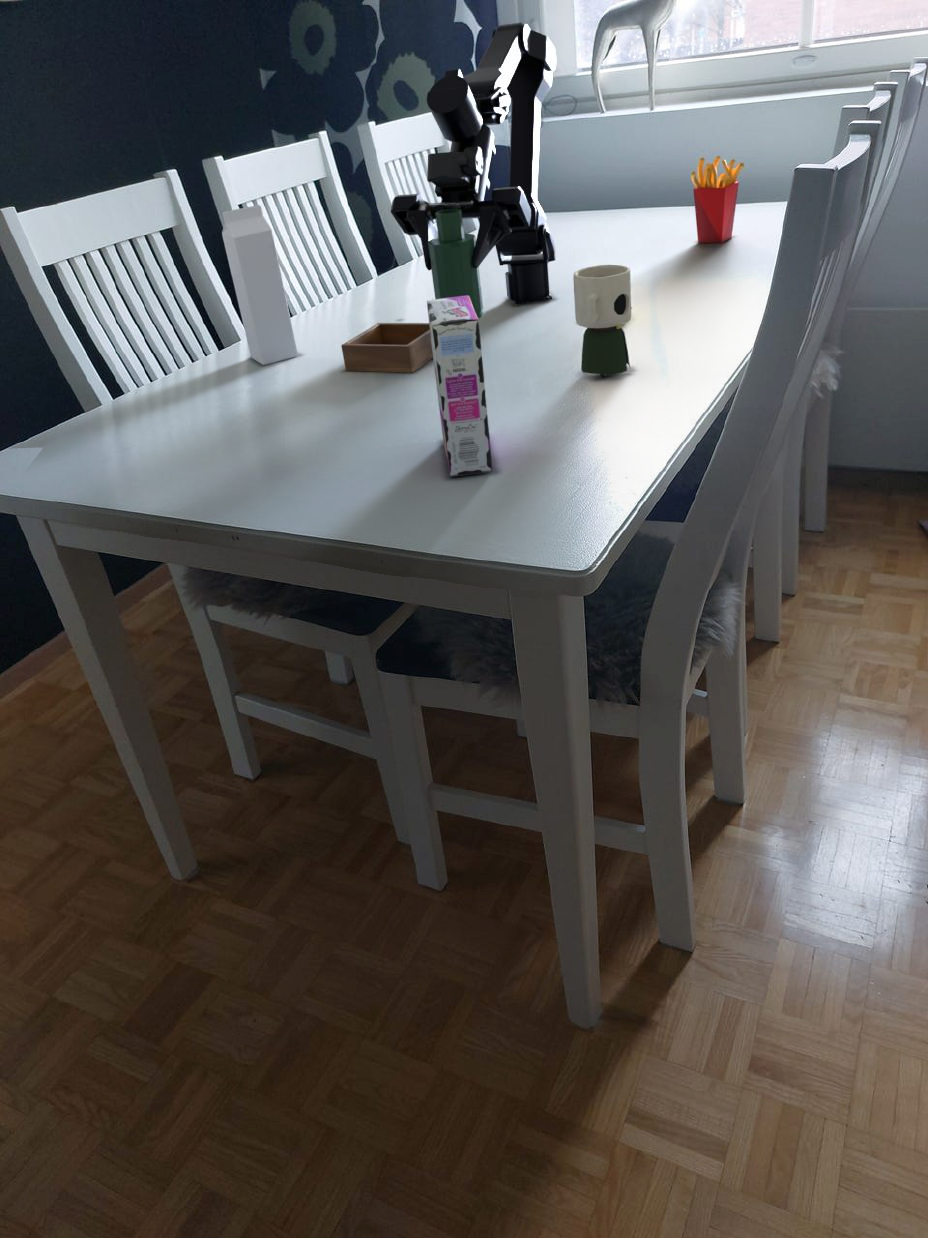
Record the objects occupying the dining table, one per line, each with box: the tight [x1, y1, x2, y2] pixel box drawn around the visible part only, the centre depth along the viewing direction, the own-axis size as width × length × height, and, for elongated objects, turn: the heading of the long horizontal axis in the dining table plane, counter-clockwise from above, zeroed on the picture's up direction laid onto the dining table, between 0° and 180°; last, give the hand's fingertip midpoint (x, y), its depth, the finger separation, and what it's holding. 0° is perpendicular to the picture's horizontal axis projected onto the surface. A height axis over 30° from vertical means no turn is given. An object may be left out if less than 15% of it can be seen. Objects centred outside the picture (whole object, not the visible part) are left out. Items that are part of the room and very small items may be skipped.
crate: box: [340, 322, 433, 374], centre depth 140 cm, size 11×11×4 cm
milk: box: [221, 204, 299, 366], centre depth 144 cm, size 6×6×22 cm
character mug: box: [572, 264, 633, 378], centre depth 121 cm, size 11×7×13 cm, turn 156°
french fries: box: [690, 155, 745, 244], centre depth 179 cm, size 9×8×15 cm
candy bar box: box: [426, 296, 494, 478], centre depth 102 cm, size 11×5×16 cm, turn 5°
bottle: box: [428, 209, 484, 320], centre depth 129 cm, size 6×6×14 cm
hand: (451, 267), depth 128 cm, fingers closed on bottle, 6 cm apart
